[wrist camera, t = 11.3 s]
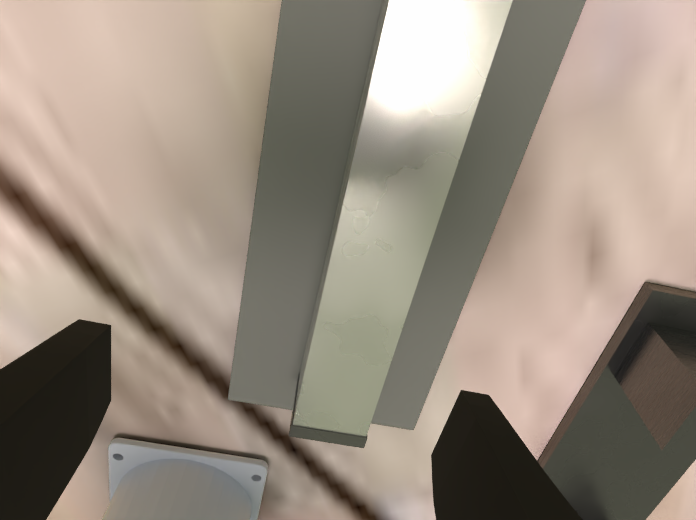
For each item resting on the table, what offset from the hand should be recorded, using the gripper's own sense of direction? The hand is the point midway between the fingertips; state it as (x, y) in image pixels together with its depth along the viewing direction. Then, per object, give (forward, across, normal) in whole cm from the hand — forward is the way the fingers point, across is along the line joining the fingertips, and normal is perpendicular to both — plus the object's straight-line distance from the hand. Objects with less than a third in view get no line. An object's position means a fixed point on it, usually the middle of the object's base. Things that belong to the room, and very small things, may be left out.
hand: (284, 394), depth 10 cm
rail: (+10, -2, 0) cm, 10 cm away
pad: (+10, -2, -1) cm, 10 cm away
